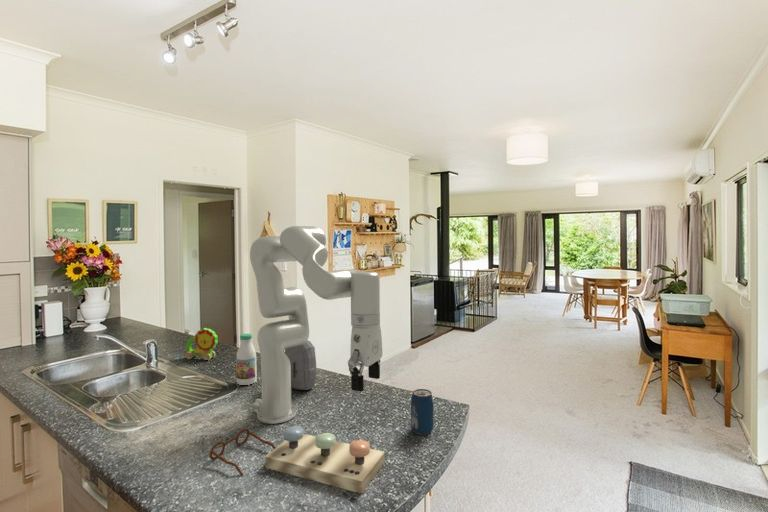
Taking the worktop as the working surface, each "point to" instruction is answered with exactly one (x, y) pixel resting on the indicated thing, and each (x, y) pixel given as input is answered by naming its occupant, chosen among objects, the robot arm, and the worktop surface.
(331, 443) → the sage key
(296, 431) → the slate-blue key
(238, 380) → the milk bottle
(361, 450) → the terracotta key
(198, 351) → the toy lion
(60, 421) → the worktop surface
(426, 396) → the soda can
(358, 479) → the wooden button board
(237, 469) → the glasses
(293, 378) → the small grey backpack
